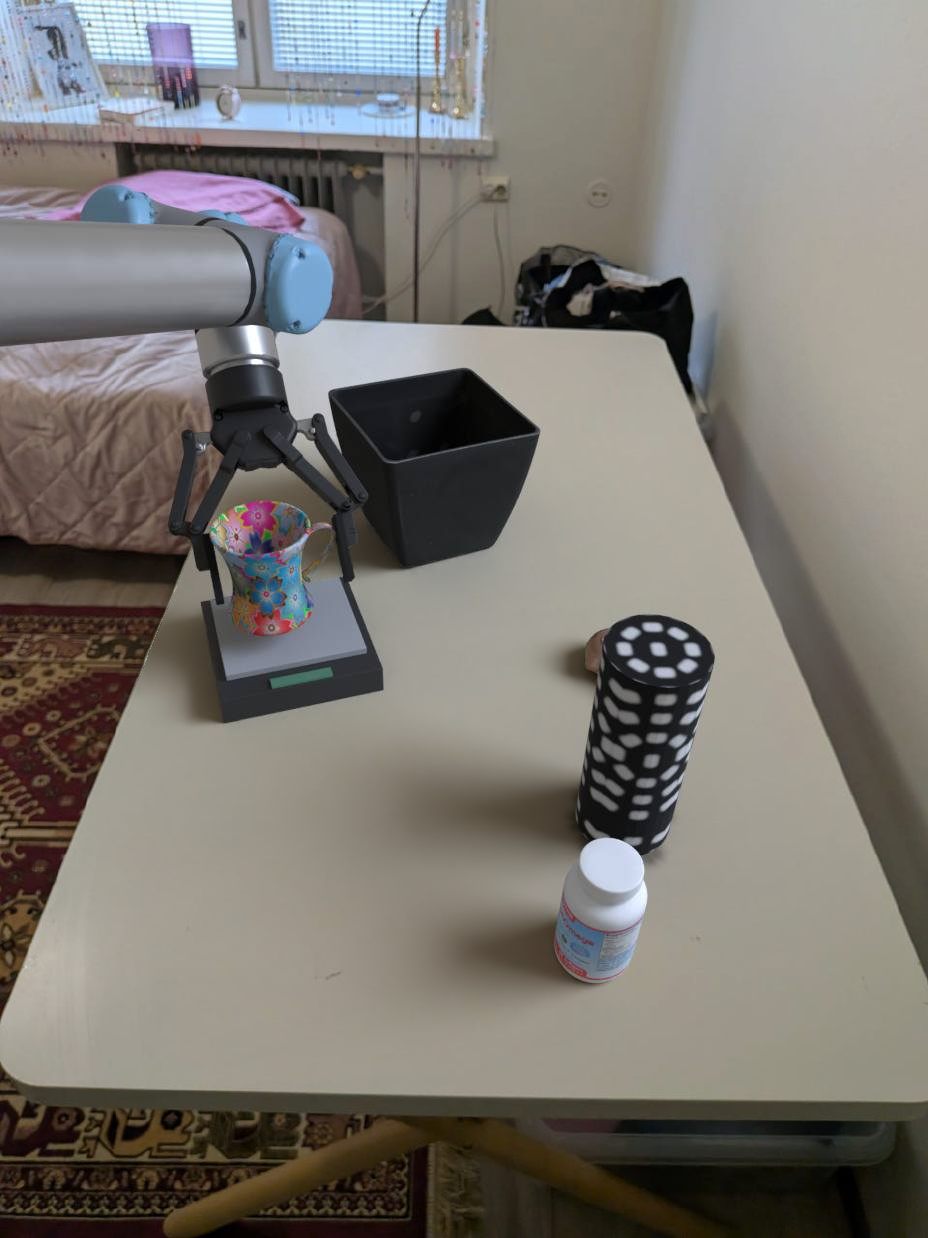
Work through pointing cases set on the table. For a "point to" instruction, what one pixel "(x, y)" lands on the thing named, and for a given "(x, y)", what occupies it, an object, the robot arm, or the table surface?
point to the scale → (293, 657)
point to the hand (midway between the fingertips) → (286, 591)
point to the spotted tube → (642, 728)
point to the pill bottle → (601, 911)
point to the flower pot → (434, 460)
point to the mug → (267, 565)
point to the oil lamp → (594, 650)
